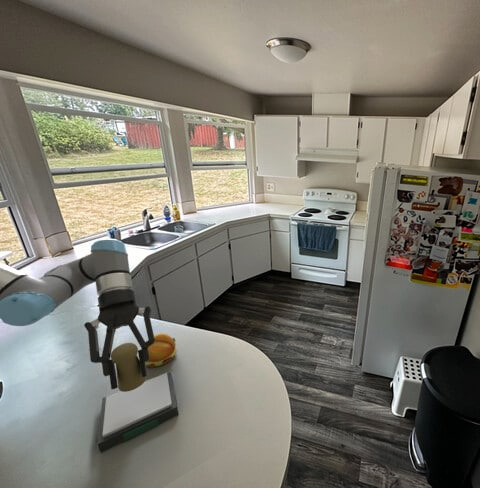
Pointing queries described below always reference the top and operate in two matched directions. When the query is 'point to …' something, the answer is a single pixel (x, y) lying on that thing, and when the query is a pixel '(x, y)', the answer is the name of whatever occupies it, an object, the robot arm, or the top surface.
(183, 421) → the top surface
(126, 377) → the cork
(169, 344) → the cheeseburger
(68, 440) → the top surface
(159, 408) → the kitchen scale
